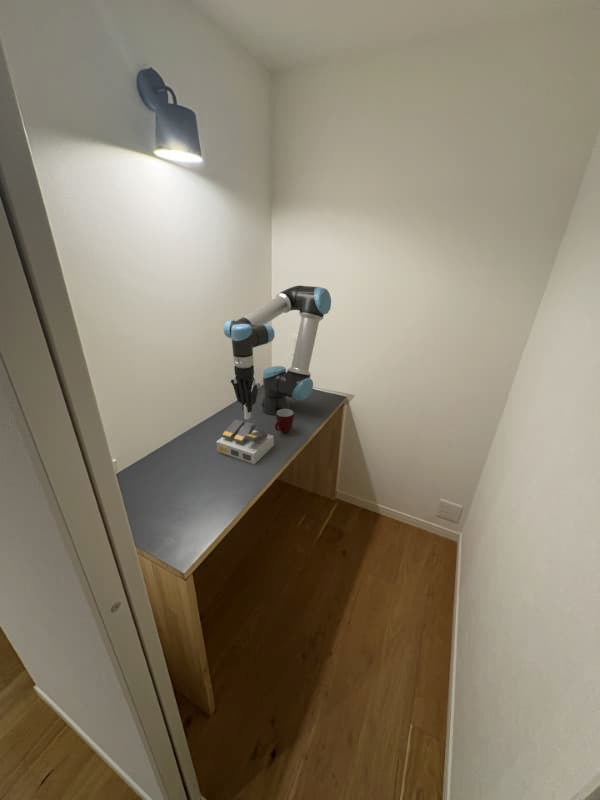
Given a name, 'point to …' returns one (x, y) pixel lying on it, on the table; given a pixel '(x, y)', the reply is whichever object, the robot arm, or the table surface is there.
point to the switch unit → (245, 448)
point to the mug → (284, 420)
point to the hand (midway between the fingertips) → (247, 418)
